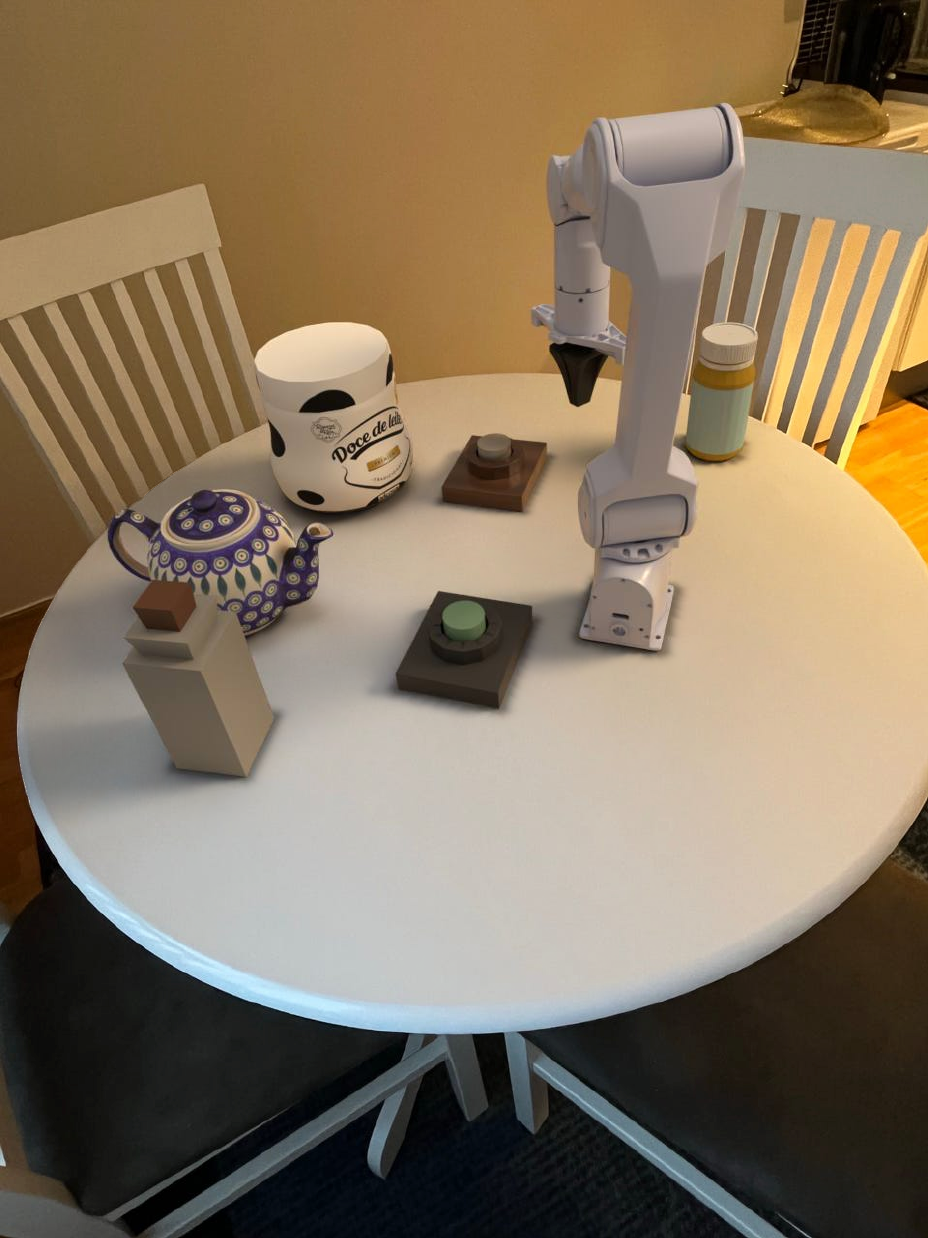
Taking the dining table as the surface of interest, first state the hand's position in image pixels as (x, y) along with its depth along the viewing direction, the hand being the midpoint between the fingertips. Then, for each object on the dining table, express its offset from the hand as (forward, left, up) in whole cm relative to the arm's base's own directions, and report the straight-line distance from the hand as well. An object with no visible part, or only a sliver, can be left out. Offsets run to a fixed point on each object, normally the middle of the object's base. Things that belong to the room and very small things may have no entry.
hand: (580, 402), depth 95 cm
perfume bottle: (-48, +22, -11) cm, 54 cm away
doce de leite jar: (-7, +28, -11) cm, 31 cm away
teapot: (-31, +30, -11) cm, 44 cm away
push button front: (-32, +4, -10) cm, 34 cm away
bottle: (+10, -15, -11) cm, 21 cm away
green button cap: (-32, +4, -7) cm, 33 cm away
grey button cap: (-2, +10, -7) cm, 12 cm away
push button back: (-2, +10, -10) cm, 15 cm away
